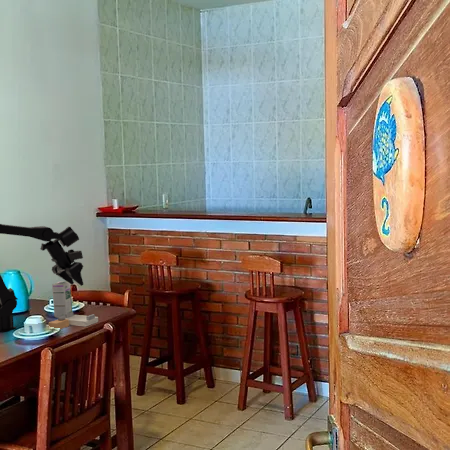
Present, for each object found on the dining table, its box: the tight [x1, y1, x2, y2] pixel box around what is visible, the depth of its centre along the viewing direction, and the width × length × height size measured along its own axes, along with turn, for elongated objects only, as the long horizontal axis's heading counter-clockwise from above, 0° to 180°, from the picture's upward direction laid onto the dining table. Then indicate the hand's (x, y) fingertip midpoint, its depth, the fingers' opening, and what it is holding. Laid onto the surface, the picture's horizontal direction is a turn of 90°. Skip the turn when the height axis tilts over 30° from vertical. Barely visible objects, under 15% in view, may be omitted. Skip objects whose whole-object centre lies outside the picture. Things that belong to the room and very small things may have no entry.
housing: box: [48, 316, 70, 330], centre depth 246 cm, size 7×4×4 cm, turn 153°
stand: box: [65, 311, 99, 327], centre depth 252 cm, size 8×12×4 cm, turn 63°
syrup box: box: [51, 280, 73, 319], centre depth 265 cm, size 6×6×14 cm
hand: (77, 284), depth 259 cm, fingers open, 9 cm apart
